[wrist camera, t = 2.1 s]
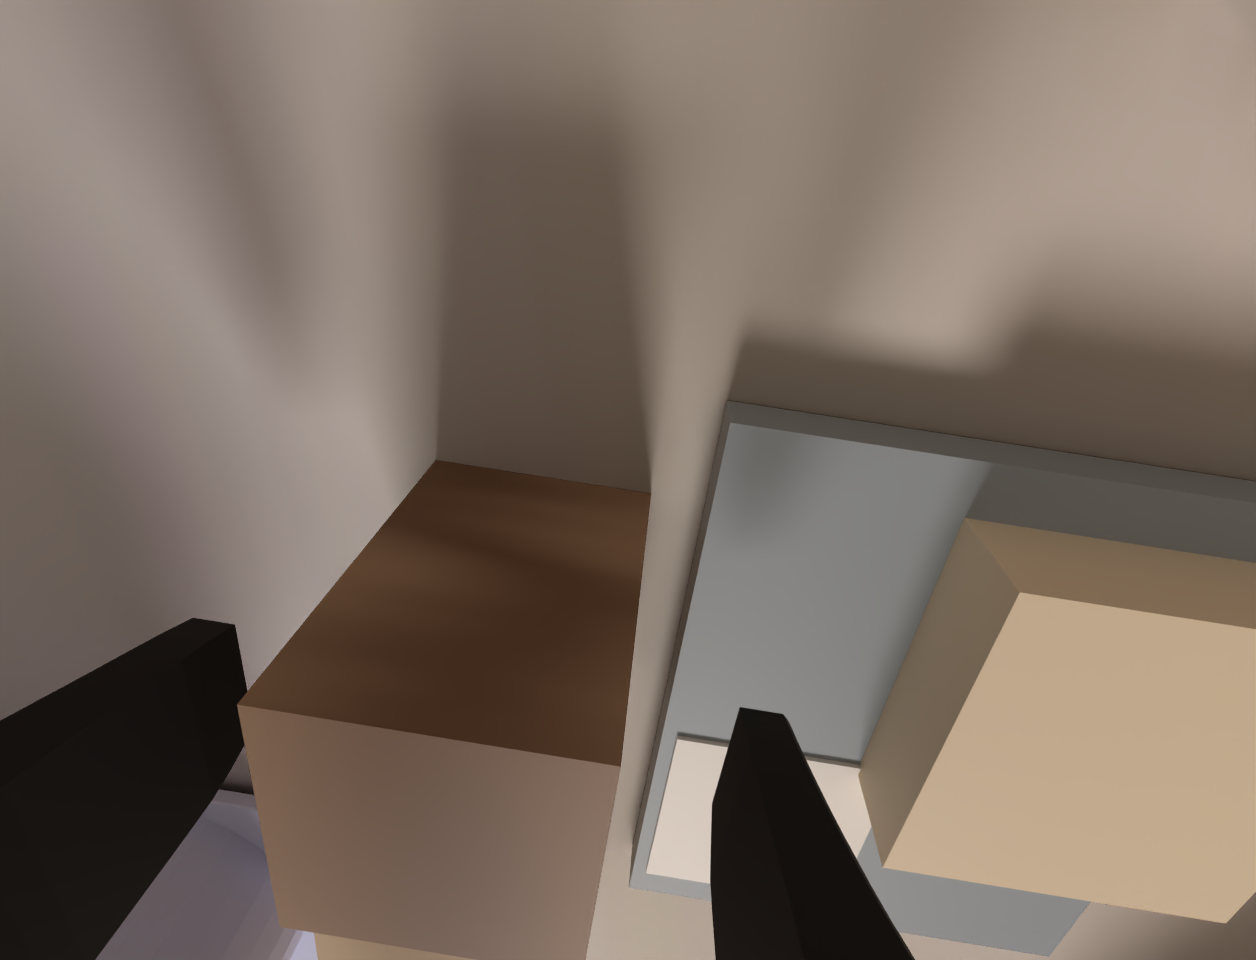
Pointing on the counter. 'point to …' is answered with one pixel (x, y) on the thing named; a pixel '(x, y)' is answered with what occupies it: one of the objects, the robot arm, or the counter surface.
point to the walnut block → (456, 721)
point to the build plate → (857, 591)
